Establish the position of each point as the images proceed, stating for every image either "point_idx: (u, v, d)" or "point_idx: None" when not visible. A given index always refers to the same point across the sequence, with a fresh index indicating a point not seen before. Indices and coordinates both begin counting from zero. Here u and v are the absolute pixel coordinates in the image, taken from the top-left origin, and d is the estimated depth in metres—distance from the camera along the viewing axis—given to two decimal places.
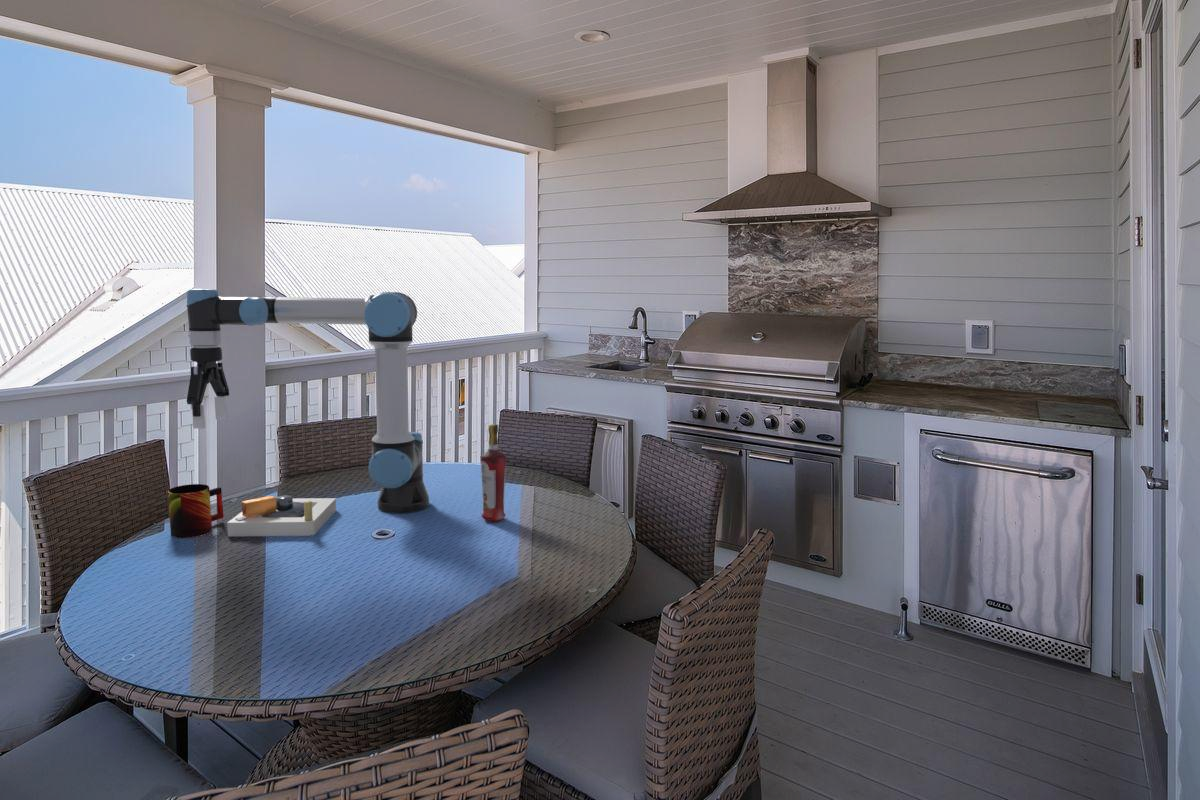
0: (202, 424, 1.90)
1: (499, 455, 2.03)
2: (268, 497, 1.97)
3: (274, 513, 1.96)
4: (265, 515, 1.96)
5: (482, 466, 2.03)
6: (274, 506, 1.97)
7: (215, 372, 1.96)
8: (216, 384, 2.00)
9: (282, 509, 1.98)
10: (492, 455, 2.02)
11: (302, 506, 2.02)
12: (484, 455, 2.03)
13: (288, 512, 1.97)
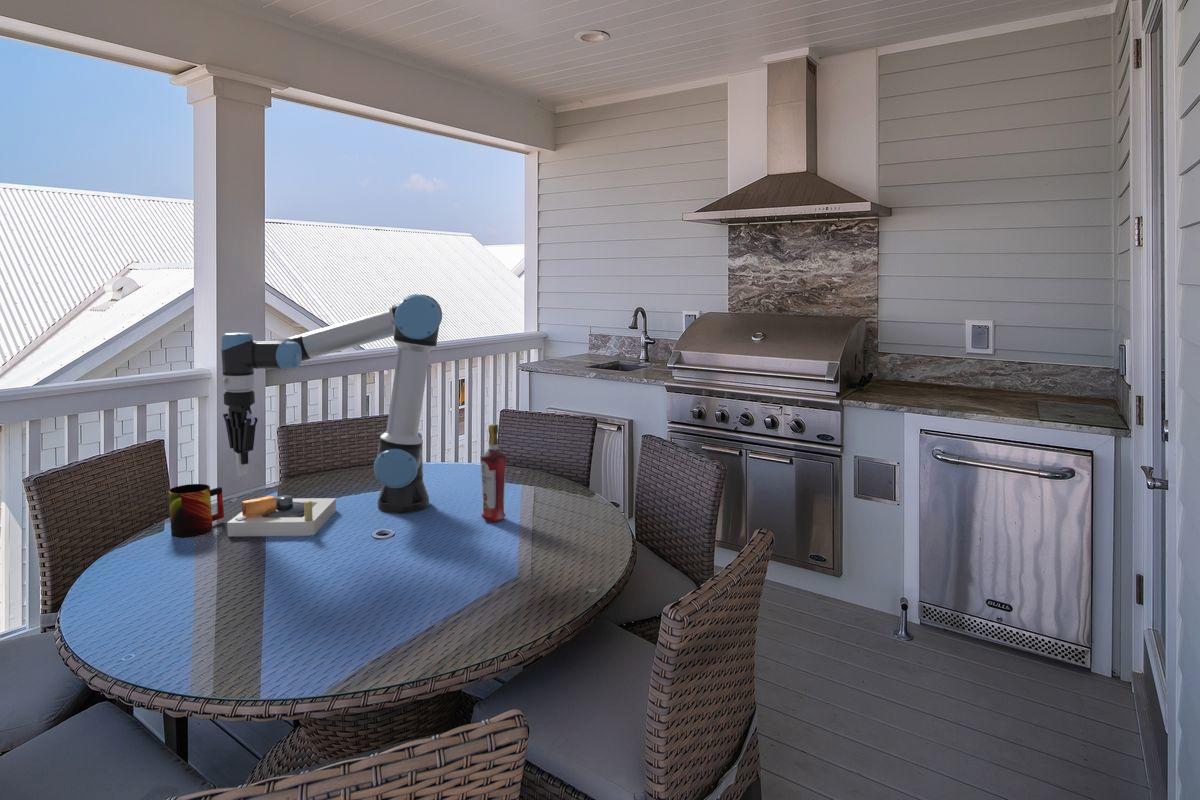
0: (247, 471, 1.97)
1: (499, 455, 2.03)
2: (268, 497, 1.97)
3: (274, 513, 1.96)
4: (265, 515, 1.96)
5: (482, 466, 2.03)
6: (274, 506, 1.97)
7: None
8: None
9: (282, 509, 1.98)
10: (492, 455, 2.02)
11: (302, 506, 2.02)
12: (484, 455, 2.03)
13: (288, 512, 1.97)
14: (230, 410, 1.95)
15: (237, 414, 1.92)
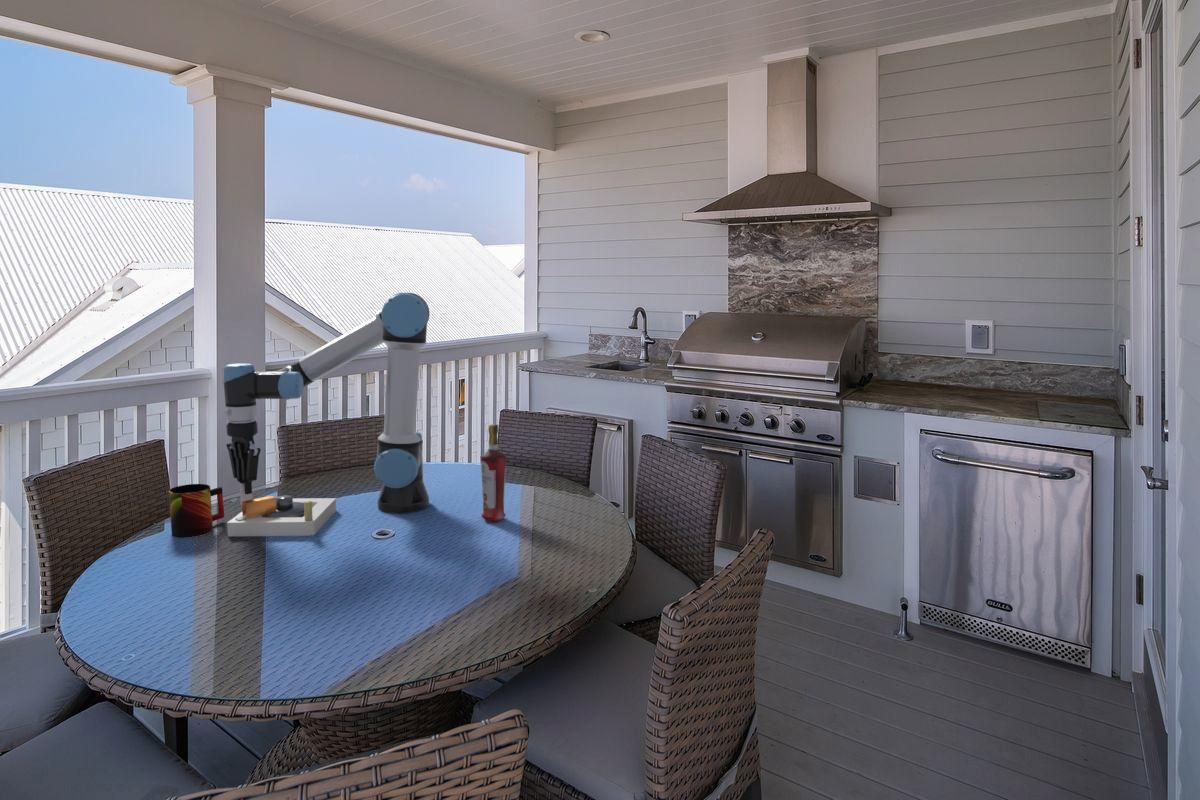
0: None
1: (499, 455, 2.03)
2: (268, 497, 1.97)
3: (274, 513, 1.96)
4: (265, 515, 1.96)
5: (482, 466, 2.03)
6: (274, 506, 1.97)
7: None
8: None
9: (282, 509, 1.98)
10: (492, 455, 2.02)
11: (302, 506, 2.02)
12: (484, 455, 2.03)
13: (288, 512, 1.97)
14: (233, 440, 1.96)
15: (240, 445, 1.93)
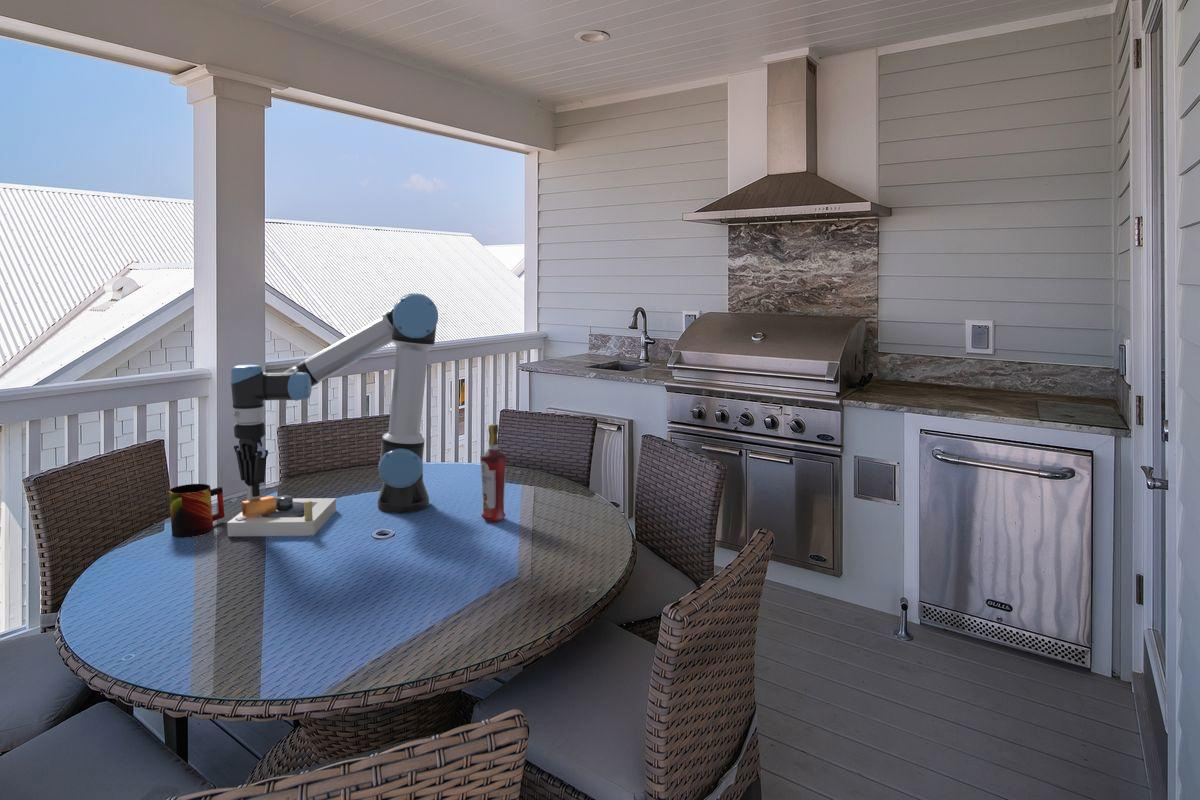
0: None
1: (499, 455, 2.03)
2: (268, 497, 1.97)
3: (274, 513, 1.96)
4: (265, 515, 1.96)
5: (482, 466, 2.03)
6: (274, 506, 1.97)
7: None
8: None
9: (282, 509, 1.98)
10: (492, 455, 2.02)
11: (302, 506, 2.02)
12: (484, 455, 2.03)
13: (288, 512, 1.97)
14: (241, 442, 1.94)
15: (248, 447, 1.91)
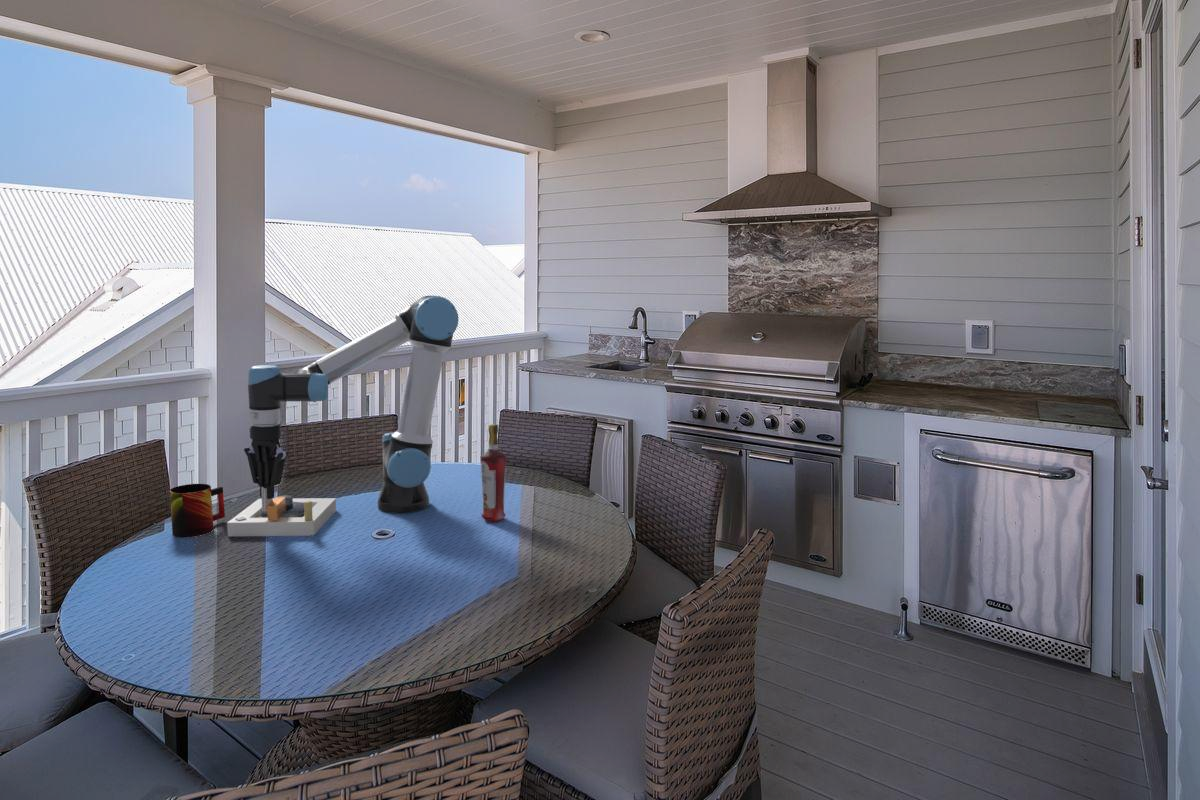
0: None
1: (499, 455, 2.03)
2: (279, 498, 1.96)
3: (290, 512, 1.97)
4: (282, 516, 1.95)
5: (482, 466, 2.03)
6: (285, 506, 1.97)
7: None
8: (265, 467, 1.92)
9: (289, 508, 1.99)
10: (492, 455, 2.02)
11: (296, 503, 2.05)
12: (484, 455, 2.03)
13: (300, 508, 2.00)
14: (254, 444, 1.90)
15: (266, 449, 1.88)
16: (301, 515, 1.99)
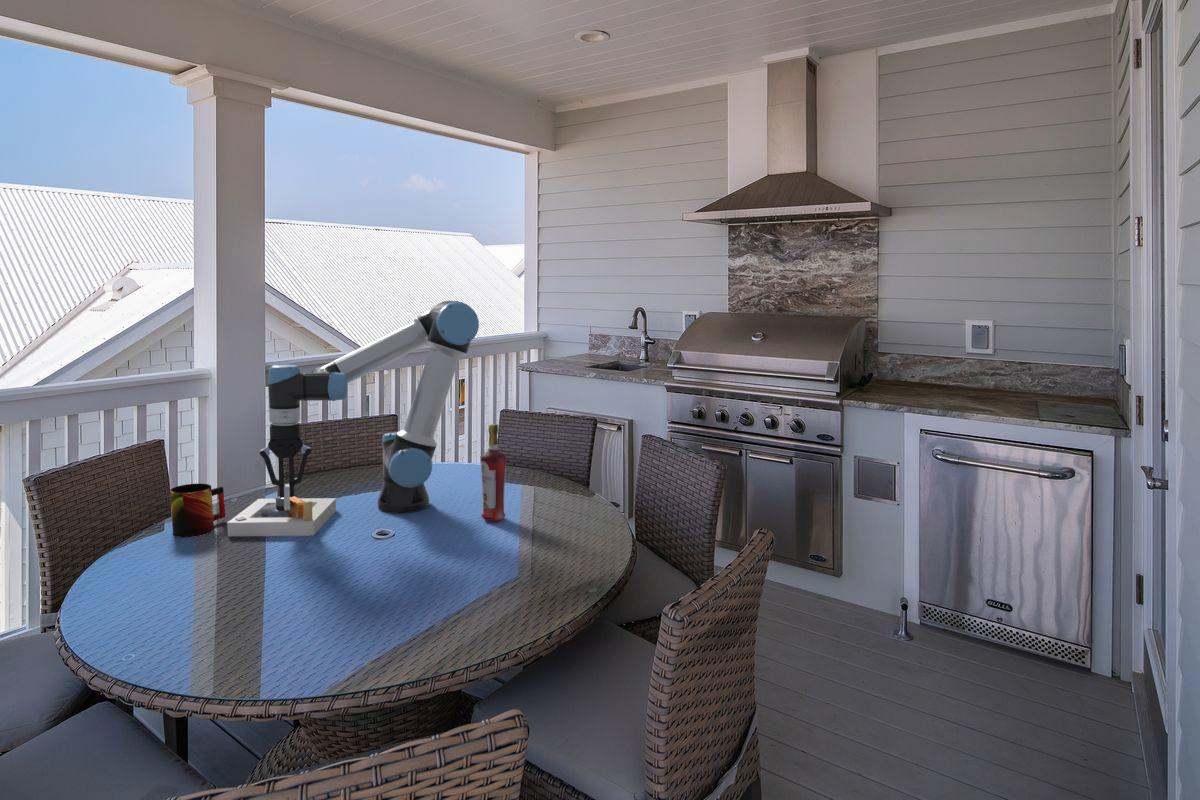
0: None
1: (499, 455, 2.03)
2: (291, 497, 1.97)
3: None
4: None
5: (482, 466, 2.03)
6: None
7: None
8: None
9: None
10: (492, 455, 2.02)
11: None
12: (484, 455, 2.03)
13: None
14: (274, 445, 1.89)
15: (293, 447, 1.90)
16: None
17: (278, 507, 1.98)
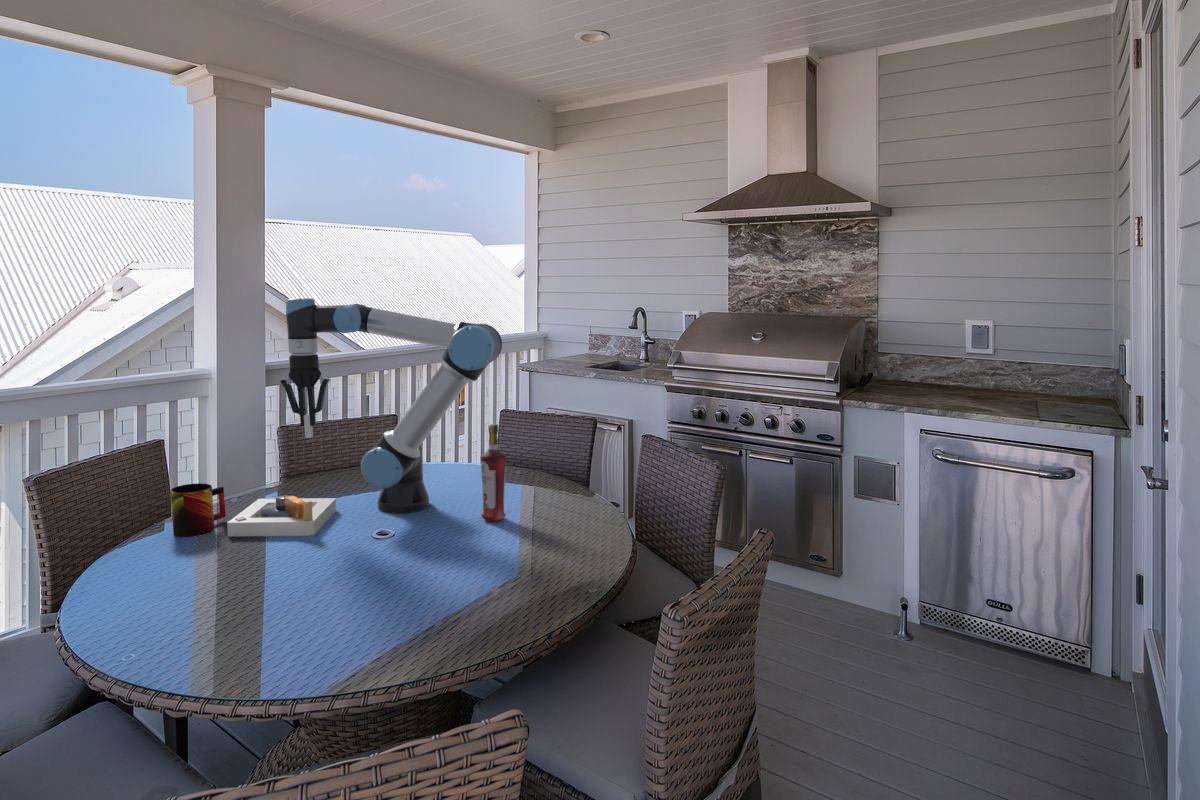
0: (312, 432, 2.04)
1: (499, 455, 2.03)
2: (291, 497, 1.97)
3: None
4: None
5: (482, 466, 2.03)
6: None
7: None
8: (304, 396, 2.01)
9: None
10: (492, 455, 2.02)
11: None
12: (484, 455, 2.03)
13: None
14: (293, 375, 1.99)
15: (310, 376, 1.99)
16: None
17: (278, 507, 1.98)
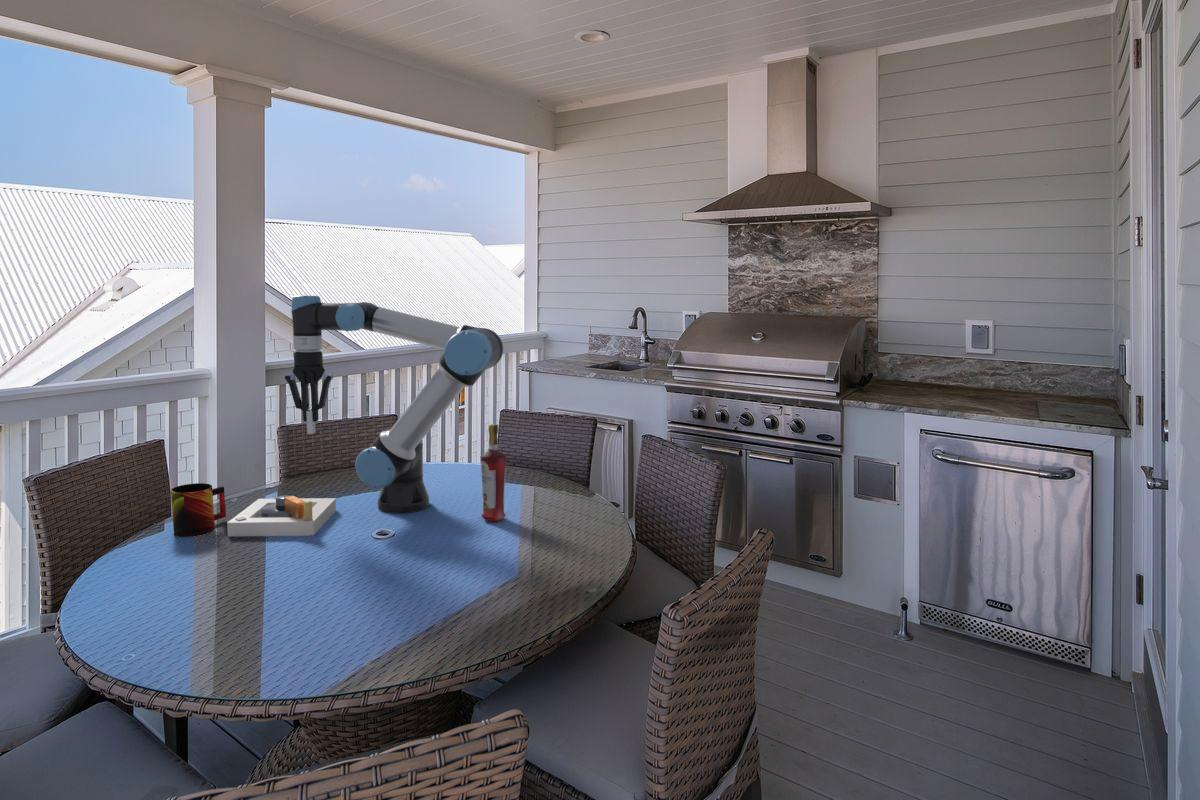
0: None
1: (499, 455, 2.03)
2: (291, 497, 1.97)
3: None
4: None
5: (482, 466, 2.03)
6: None
7: None
8: (307, 392, 2.03)
9: None
10: (492, 455, 2.02)
11: None
12: (484, 455, 2.03)
13: None
14: (297, 371, 2.01)
15: (313, 373, 2.01)
16: None
17: (278, 507, 1.98)
